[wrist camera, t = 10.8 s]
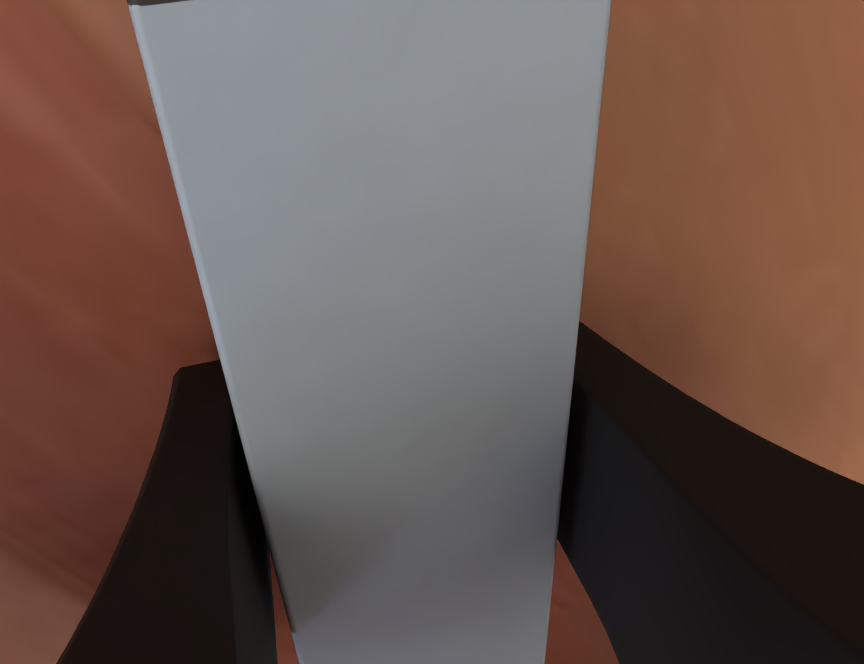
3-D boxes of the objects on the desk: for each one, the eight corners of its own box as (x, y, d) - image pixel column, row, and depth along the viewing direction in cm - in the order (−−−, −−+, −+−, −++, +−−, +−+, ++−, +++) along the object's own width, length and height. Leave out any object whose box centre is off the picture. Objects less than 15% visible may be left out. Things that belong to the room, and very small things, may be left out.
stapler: (76, -271, 7) (43, -234, 4) (463, -292, 8) (659, -273, 5) (298, 624, 16) (335, 830, 13) (470, 577, 17) (541, 763, 14)
